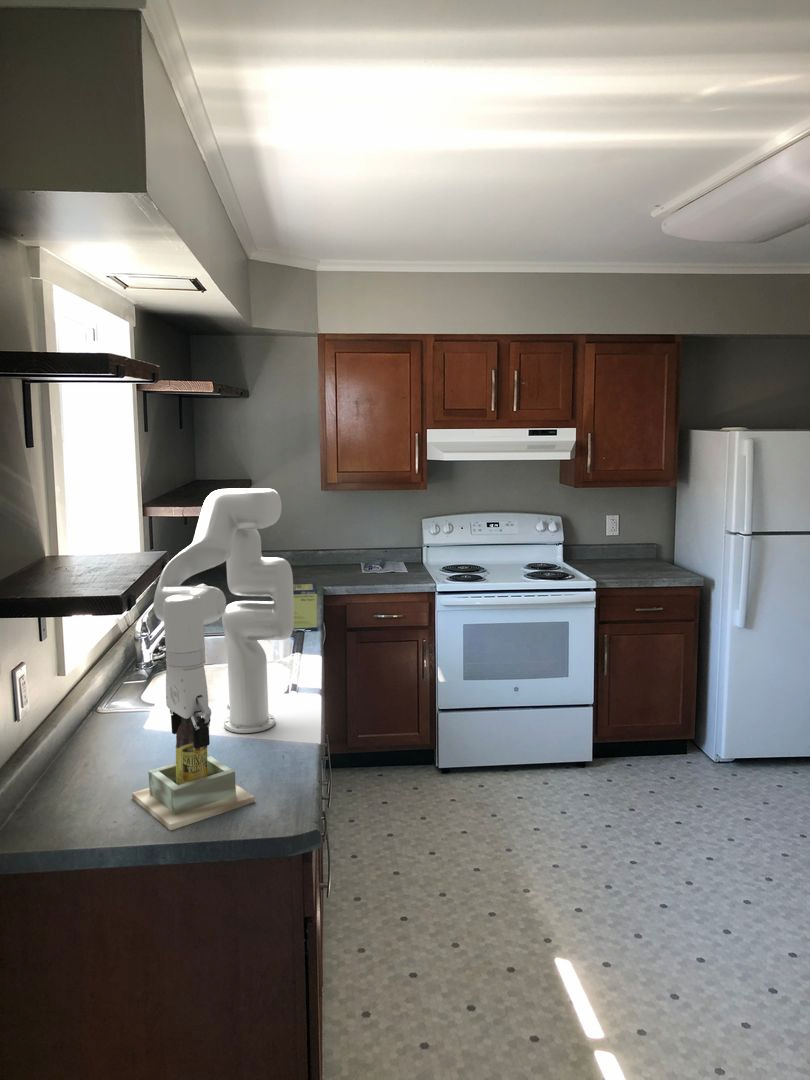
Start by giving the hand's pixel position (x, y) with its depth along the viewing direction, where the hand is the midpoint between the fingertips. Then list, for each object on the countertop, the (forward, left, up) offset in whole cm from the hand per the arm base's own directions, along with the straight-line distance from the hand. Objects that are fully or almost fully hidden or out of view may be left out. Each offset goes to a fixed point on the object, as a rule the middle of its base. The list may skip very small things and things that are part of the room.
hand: (190, 739), depth 171 cm
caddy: (0, 0, -13) cm, 13 cm away
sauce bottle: (0, 0, -12) cm, 12 cm away
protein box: (-105, +92, -13) cm, 140 cm away
